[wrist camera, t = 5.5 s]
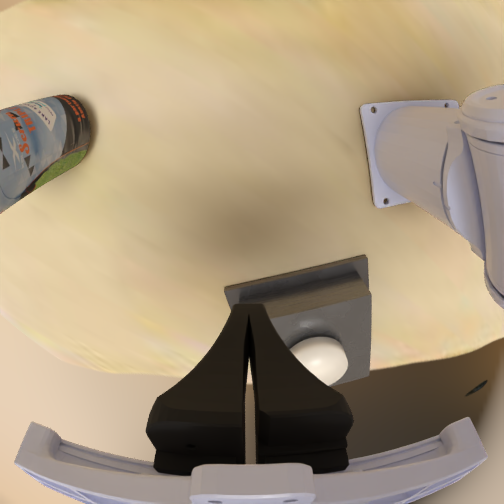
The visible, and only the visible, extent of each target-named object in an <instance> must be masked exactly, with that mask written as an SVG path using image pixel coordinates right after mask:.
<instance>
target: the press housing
mask: <svg viewBox="0 0 504 504" xmlns="http://www.w3.org/2000/svg"><path fill="white" fill-rule="evenodd" d="M224 292H225V295H226V298H227V301H228V303H229V306H230V309H231V310H232V307H233V305H234V304H263V305H264V306H265V309H266V311H267V314H268V316H269V318H270V320H271V322H272V324H273V326H274V327H275V329H276V331H277V332H278V334H279V336H280V337H281V339H282V340H283V342H284V343H285V344H286V346H287V347H288V348H289V350H290V349H291V348H292V347H293V346H294V345H296V344H297V343H299V342H301V341H303V340H306V339H309V338H313V337H329V338H333V339H335V340H337V341H338V342H340V344H341V345H342V346H343V349H344V352H345V355H346V358H347V360H348V367H347V370H346V372H345V374H344V375H343V376H342V377H341V378H340V379H339V380H337V381H336V382H335V383H333V384H331V385H329V387H330V386H334V385H338V384H342V383H346V382H349V381H352V380H356V379H360V378H363V377H367V376H369V369H370V351H371V310H372V305H371V293H370V291H369V279H368V258H367V257H366V255H362V256H358V257H354V258H350V259H346V260H342V261H338V262H334V263H330V264H325V265H321V266H317V267H313V268H308V269H304V270H300V271H296V272H291V273H287V274H283V275H278V276H274V277H269V278H265V279H260V280H256V281H251V282H247V283H242V284H237V285H233V286H228V287H225V288H224Z"/></svg>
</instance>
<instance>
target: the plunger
mask: <svg viewBox="0 0 504 504" xmlns="http://www.w3.org/2000/svg"><path fill="white" fill-rule="evenodd" d="M290 351H291V352H292V353H293V354H294V356H295V357H296V358H297V359H298V360H299V361H300V362H301V363H302V364H303V365H304V366H305V367H306V368H307V369H308V370H309V371H310V372H311V373H313V374H314V375H315V376H316V377H317V378H318V379H320V380H321V381H322V382H324V383H325V384H326V385H328V386H329V385H331V384H333V383H335V382H336V381H337V380H339V379H340V378H341V377H342V376H343V375H344V374H345V372H346V370H347V367H348V360H347V358H346V355H345V352H344V349H343V346H342V345H341V344H340V342H338V341H337V340H335V339H333V338H329V337H313V338H309V339H306V340H303V341H301V342H299V343H297V344H296V345H294V346H293V347H292V348H291V349H290Z"/></svg>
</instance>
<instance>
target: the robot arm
mask: <svg viewBox="0 0 504 504" xmlns="http://www.w3.org/2000/svg"><path fill="white" fill-rule="evenodd" d="M445 104H446V108H445V106H444V105H445ZM372 107H374V108H375V112H374V113H372V112H371V108H372ZM360 114H361V120H362V125H363V130H364V136H365V142H366V148H367V155H368V162H369V169H370V177H371V185H372V194H373V203H374V205H375V206H376V207H377V208H385V207H390V206H394V205H399V204H404V203H408V202H413V203H414V204H416V205H417V206H419V207H420V208H422V209H423V210H425V211H426V212H428V213H430V214H431V215H432V216H434V217H435V218H437V219H438V220H440V221H441V222H443V223H444V224H446V225H447V226H449V227H450V228H451V229H453V230H454V231H456V232H457V233H458V234H460V235H461V236H462V237H464V238H465V239H466V240H468V241H469V243H470V245H471V250H472V251H473V252H474V253H475V254H476V255H478V256H479V257H480V258H481V259H482V260H484V261H485V262H484V278H485V283H486V287H487V289H488V291H489V293H490V295H491V296H492V298H493V299H494V301H495V302H496V303H497V304H498V305H500V306H501V307H502V308H503V309H504V84H501V85H495V86H491V87H487V88H484V89H481V90H478V91H476V92H473V93H471V94H470V95H468V96H467V97H466V98H465V100H464V102H463V104H462V106H461V107H460V108H459V104H458V102H457V101H456V100H412V101H394V102H381V103H370V104H363V105H362V106H361V107H360ZM385 198H387V202H386V203H384V202H383V201H384V199H385ZM249 359H250V367H251V375H252V382H253V390H254V399H255V434H256V464H253V465H246V463H245V393H246V383H247V373H248V362H249ZM353 422H354V420H353V415H352V412H351V410H350V408H349V405H348V403H347V401H346V399H345V397H344V396H343V395H342V394H340V393H339V392H337V391H336V390H334V389H332V388H331V387H329V386H328V385H326V384H325V383H324V382H322V381H321V380H320V379H318V378H317V377H316V376H315V375H314V374H313V373H311V372H310V371H309V370H308V369H307V368H306V367H305V366H304V365H303V364H302V363H301V362H300V361H299V360H298V359H297V358H296V357H295V356H294V354H293V353H292V352H291V351H290V350H289V348H288V347H287V346H286V344H285V343H284V342H283V340H282V339H281V337H280V336H279V334H278V332H277V331H276V329H275V327H274V326H273V324H272V322H271V320H270V318H269V316H268V314H267V311H266V309H265V306H264V305H263V304H234V305H233V307H232V310H231V313H230V316H229V318H228V320H227V322H226V324H225V326H224V328H223V330H222V332H221V333H220V335H219V337H218V338H217V340H216V341H215V343H214V344H213V346H212V347H211V349H210V350H209V351H208V353H207V354H206V355H205V356H204V358H203V359H202V360H201V361H200V362H199V363H198V364H197V365H196V366H195V368H194V369H193V370H192V371H191V372H190V373H188V374H187V375H186V376H185V377H184V378H183V379H182V380H181V381H179V382H178V383H177V384H176V385H174V386H173V387H172V388H170V389H169V390H168V391H166V392H165V393H164V394H162V395H160V396H159V397H157V399H156V401H155V403H154V405H153V407H152V410H151V412H150V414H149V418H148V422H147V427H146V433H147V436H148V437H149V439H150V441H151V442H152V444H153V445H154V447H155V448H156V454H155V459H154V462H149V461H142V460H138V459H132V458H128V457H123V456H119V455H114V454H110V453H105V452H102V451H99V450H95V449H91V448H88V447H85V446H81V445H78V444H75V443H72V442H69V441H66V440H63V439H61V437H60V436H59V435H58V434H57V433H56V432H55V431H53V430H52V429H50V428H48V427H45V426H43V425H40V424H38V423H35V422H31V424H30V426H29V428H28V430H27V432H26V435H25V437H24V440H23V442H22V444H21V447H20V449H19V451H18V454H17V456H16V459H15V462H14V463H15V465H17V466H18V467H19V468H21V469H22V470H23V471H25V472H26V473H27V474H28V475H30V476H31V477H33V478H34V479H35V480H37V481H38V482H40V483H41V484H43V485H44V486H46V487H48V488H50V489H52V490H55V491H57V492H59V493H62V494H64V495H66V496H68V497H70V498H73V499H75V500H78V501H80V502H83V503H85V504H407V503H410V502H412V501H415V500H417V499H420V498H422V497H424V496H427V495H429V494H431V493H433V492H436V491H438V490H440V489H442V488H444V487H446V486H448V485H450V484H452V483H454V482H456V481H458V480H459V479H461V478H463V477H464V476H465V475H467V474H468V473H469V472H471V471H472V470H473V469H474V468H476V467H477V466H478V465H480V464H481V463H482V462H483V461H484V460H486V459H487V457H488V456H487V454H486V451H485V449H484V447H483V445H482V442H481V440H480V438H479V436H478V434H477V432H476V430H475V428H474V426H473V424H472V422H471V420H470V418H469V417H466V418H464V419H461V420H459V421H457V422H454V423H452V424H450V425H448V426H447V427H446V428H444V429H443V431H442V432H441V433H440V435H437V436H435V437H432V438H429V439H426V440H424V441H420V442H417V443H414V444H411V445H408V446H405V447H401V448H398V449H394V450H390V451H387V452H383V453H378V454H374V455H370V456H366V457H361V458H356V459H351V460H348V456H347V452H346V448H347V441H346V436H347V434H348V433H349V431H350V429H351V427H352V425H353Z"/></svg>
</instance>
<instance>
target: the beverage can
mask: <svg viewBox="0 0 504 504" xmlns="http://www.w3.org/2000/svg"><path fill="white" fill-rule="evenodd" d="M89 141H90V123H89V119H88V115H87V113H86V111H85V109H84V107H83V106H82V104H81V103H80V102H79V101H78V100H77V99H75V98H74V97H72V96H69V95H57V96H52V97H47V98H43V99H39V100H35V101H30V102H27V103H23V104H19V105H16V106H12V107H9V108H5V109H2V110H0V214H1V213H2V212H3V211H5V210H6V209H8V208H9V207H10V206H12V205H13V204H15V203H16V202H18V201H19V200H21V199H22V198H24V197H25V196H27V195H28V194H30V193H31V192H33V191H34V190H36V189H37V188H39V187H41V186H42V185H44V184H45V183H47V182H49V181H50V180H52V179H54V178H55V177H57V176H59V175H61V174H62V173H64V172H66V171H68V170H69V169H71V168H73V167H74V166H76V165H77V164H78V163H79V162H80V161H81V160H82V159H83V157H84V156H85V154H86V152H87V149H88V146H89Z"/></svg>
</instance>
